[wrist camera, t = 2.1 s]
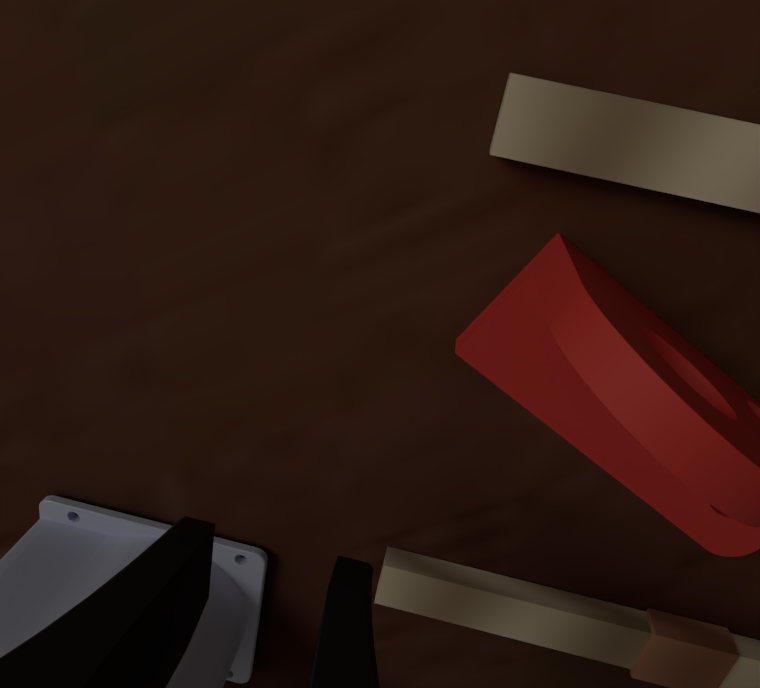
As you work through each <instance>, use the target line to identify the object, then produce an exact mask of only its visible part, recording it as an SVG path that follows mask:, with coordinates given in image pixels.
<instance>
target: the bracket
mask: <svg viewBox="0 0 760 688" xmlns="http://www.w3.org/2000/svg"><path fill="white" fill-rule="evenodd" d="M455 353H456V354H457V355H458V356H459V357H461V358H462V359H463V360H465V361H466V362H467V363H468V364H470V365H471V366H472V367H473V368H475V369H476V370H477V371H479V372H480V373H481V374H482V375H484V376H485V377H486V378H488V379H489V380H490V381H491V382H493V383H494V384H495V385H496V386H498V387H499V388H500V389H502V390H503V391H504V392H505V393H507V394H508V395H509V396H511V397H512V398H513V399H514V400H516V401H517V402H518V403H520V404H521V405H522V406H523V407H525V408H526V409H527V410H528V411H530V412H531V413H532V414H534V415H535V416H536V417H537V418H539V419H540V420H541V421H543V422H544V423H545V424H546V425H548V426H549V427H550V428H551V429H553V430H554V431H555V432H557V433H558V434H559V435H560V436H562V437H563V438H564V439H566V440H567V441H568V442H569V443H571V444H572V445H573V446H575V447H576V448H577V449H578V450H580V451H581V452H582V453H583V454H585V455H586V456H587V457H589V458H590V459H591V460H592V461H594V462H595V463H596V464H598V465H599V466H600V467H601V468H603V469H604V470H605V471H606V472H608V473H609V474H610V475H612V476H613V477H614V478H615V479H617V480H618V481H619V482H621V483H622V484H623V485H624V486H626V487H627V488H628V489H629V490H631V491H632V492H633V493H635V494H636V495H637V496H638V497H640V498H641V499H642V500H644V501H645V502H646V503H647V504H649V505H650V506H651V507H653V508H654V509H655V510H656V511H658V512H659V513H660V514H661V515H663V516H664V517H665V518H667V519H668V520H669V521H670V522H672V523H673V524H674V525H676V526H677V527H678V528H679V529H681V530H682V531H683V532H684V533H686V534H687V535H688V536H690V537H691V538H692V539H693V540H695V541H696V542H697V543H699V544H700V545H701V546H702V547H704V548H705V549H706V550H708V551H709V552H711V553H713V554H716V555H719V556H725V557H738V556H743V555H747V554H750V553H752V552H755V551H756V550H758V549H760V403H759V402H758V401H757V400H755V399H754V398H753V397H752V396H751V395H750V394H748V393H747V392H746V391H745V390H744V389H743V388H741V387H740V386H739V385H738V384H737V383H735V382H734V381H733V380H732V379H731V378H730V377H728V376H727V375H726V374H725V373H724V372H722V371H721V370H720V369H719V368H718V367H717V366H715V365H714V364H713V363H712V362H711V361H710V360H708V359H707V358H706V357H705V356H704V355H702V354H701V353H700V352H699V351H698V350H697V349H695V348H694V347H693V346H692V345H691V344H690V343H688V342H687V341H686V340H685V339H684V338H682V337H681V336H680V335H679V334H678V333H677V332H675V331H674V330H673V329H672V328H671V327H670V326H668V325H667V324H666V323H665V322H664V321H662V320H661V319H660V318H659V317H658V316H657V315H655V314H654V313H653V312H652V311H651V310H650V309H648V308H647V307H646V306H645V305H644V304H642V303H641V302H640V301H639V300H638V299H637V298H635V297H634V296H633V295H632V294H631V293H630V292H628V291H627V290H626V289H625V288H624V287H622V286H621V285H620V284H619V283H618V282H617V281H615V280H614V279H613V278H612V277H611V276H609V275H608V274H607V273H606V272H605V271H604V270H602V269H601V268H600V267H599V266H598V265H597V264H595V263H594V262H593V261H592V260H591V259H589V258H588V257H587V256H586V255H585V254H584V253H582V252H581V251H580V250H579V249H578V248H577V247H575V246H574V245H573V244H572V243H571V242H569V241H568V240H567V239H566V238H565V237H564V236H562V235H561V234H560V233H559V232H558V233H557V234H556V235H555V236H554V237H553V238H552V240H551V241H550V242H549V243H548V244H547V245H546V246H545V247H544V248H543V249H542V250H541V251H540V252H539V253H538V254H537V255H536V256H535V257H534V258H533V259H532V260H531V262H530V263H529V264H528V265H527V266H526V267H525V268H524V269H523V270H522V271H521V272H520V273H519V274H518V275H517V276H516V277H515V278H514V279H513V280H512V281H511V282H510V283H509V285H508V286H507V287H506V288H505V289H504V290H503V291H502V292H501V293H500V294H499V295H498V296H497V297H496V298H495V299H494V300H493V301H492V302H491V303H490V304H489V305H488V307H487V308H486V309H485V310H484V311H483V312H482V313H481V314H480V315H479V316H478V317H477V318H476V319H475V320H474V321H473V322H472V323H471V324H470V325H469V326H468V327H467V328H466V330H465V331H464V332H463V333H462V334H461V335H460V336H459V337H458V338H457V339H456V347H455Z"/></svg>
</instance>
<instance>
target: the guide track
mask: <svg viewBox="0 0 760 688" xmlns="http://www.w3.org/2000/svg"><path fill="white" fill-rule="evenodd" d="M490 155H494V156H498V157H503V158H507V159H512V160H517V161H521V162H526V163H530V164H535V165H540V166H544V167H549V168H554V169H558V170H563V171H567V172H572V173H577V174H581V175H586V176H590V177H595V178H600V179H604V180H609V181H614V182H618V183H623V184H627V185H632V186H637V187H641V188H646V189H651V190H655V191H660V192H664V193H669V194H674V195H678V196H683V197H687V198H692V199H697V200H701V201H706V202H711V203H715V204H720V205H724V206H729V207H734V208H738V209H743V210H747V211H752V212H757V213H760V125H759V124H754V123H750V122H745V121H740V120H735V119H730V118H726V117H721V116H716V115H711V114H706V113H702V112H697V111H692V110H687V109H683V108H678V107H673V106H668V105H663V104H659V103H654V102H649V101H644V100H639V99H635V98H630V97H625V96H620V95H616V94H611V93H606V92H601V91H596V90H592V89H587V88H582V87H577V86H572V85H568V84H563V83H558V82H553V81H549V80H544V79H539V78H534V77H529V76H525V75H520V74H515V73H510V72H509V76H508V80H507V84H506V88H505V92H504V95H503V99H502V103H501V107H500V111H499V115H498V119H497V123H496V127H495V130H494V134H493V138H492V142H491V146H490ZM374 603H377V604H380V605H384V606H388V607H392V608H396V609H400V610H404V611H408V612H411V613H415V614H419V615H423V616H427V617H431V618H435V619H439V620H442V621H446V622H450V623H454V624H458V625H462V626H466V627H470V628H473V629H477V630H481V631H485V632H489V633H493V634H497V635H501V636H504V637H508V638H512V639H516V640H520V641H524V642H528V643H532V644H535V645H539V646H543V647H547V648H551V649H555V650H559V651H563V652H566V653H570V654H574V655H578V656H582V657H586V658H590V659H594V660H597V661H601V662H605V663H609V664H613V665H617V666H621V667H624V668H628V669H630V673H631V677H632V678H635V679H638V680H642V681H646V682H650V683H654V684H658V685H662V686H665V687H669V688H760V640H756V639H752V638H748V637H745V636H741V635H737V634H733V633H730V632H729V630H728V628H725V627H722V626H718V625H714V624H710V623H706V622H702V621H698V620H694V619H690V618H686V617H682V616H678V615H674V614H670V613H666V612H662V611H658V610H654V609H650V608H647V610H646V611H642V610H638V609H634V608H630V607H626V606H622V605H618V604H614V603H610V602H606V601H602V600H598V599H594V598H590V597H586V596H582V595H578V594H574V593H571V592H567V591H563V590H559V589H555V588H551V587H547V586H543V585H539V584H535V583H531V582H527V581H523V580H519V579H515V578H511V577H507V576H503V575H499V574H495V573H491V572H487V571H484V570H480V569H476V568H472V567H468V566H464V565H460V564H456V563H452V562H448V561H444V560H440V559H436V558H432V557H428V556H424V555H420V554H416V553H412V552H408V551H404V550H400V549H397V548H393V547H389V546H388V547H387V551H386V554H385V558H384V562H383V566H382V570H381V574H380V578H379V582H378V586H377V592H376V597H375V602H374Z"/></svg>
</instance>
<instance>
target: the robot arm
mask: <svg viewBox="0 0 760 688" xmlns="http://www.w3.org/2000/svg"><path fill="white" fill-rule="evenodd" d="M39 512H40V519H39V520H38V521H37V522H36V523H35V524H34V525H33V527H32V528H31V529H30V530H29V531H28V532H27V533H26V534H25V535H24V536H23V537H22V538H21V539H20V540H19V541H18V542H17V543H16V544H15V545H14V546H13V547H12V548H11V549H10V551H9V552H8V553H7V554H6V555H5V556H4V557H3V558H2V559H1V560H0V688H223V686H224V684H225V681H226V680H228V681H232V682H236V683H246V682H248V681H249V679H250V676H251V674H252V668H253V661H254V654H255V647H256V640H257V633H258V626H259V619H260V612H261V605H262V598H263V591H264V584H265V577H266V570H267V563H268V556H267V554H266V553H265V552H264V551H263V550H262V549H260V548H257V547H253V546H249V545H246V544H242V543H238V542H234V541H230V540H226V539H222V538H218V537H214V531H215V524H213V523H209V522H206V521H202V520H198V519H194V518H190V517H186V516H185V517H183V518H181V519H180V520H178V521H177V522H176V523H175V524H174V525H173V526H171V525H167V524H163V523H160V522H156V521H152V520H148V519H144V518H140V517H136V516H132V515H128V514H124V513H121V512H117V511H113V510H109V509H105V508H101V507H97V506H93V505H89V504H85V503H81V502H78V501H74V500H70V499H66V498H62V497H58V496H52V495H50V496H47V497H46V498H45V499H44V500H43V501H42V502H41V503H40V505H39ZM76 513H77V514H76ZM240 555H242V556H245V558H244V557H241V556H240ZM372 575H373V568H372V567H371V565H370V564H369V563H366V562H363V561H359V560H355V559H351V558H347V557H343V556H339V555H338V558H337V561H336V564H335V567H334V570H333V573H332V577H331V580H330V583H329V586H328V591H327V596H326V601H325V606H324V610H323V615H322V620H321V625H320V630H319V635H318V639H317V644H316V649H315V654H314V659H313V664H312V668H311V673H310V678H309V683H308V688H380V687H379V680H378V673H377V665H376V657H375V649H374V640H373V628H372V609H371V589H372Z"/></svg>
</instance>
